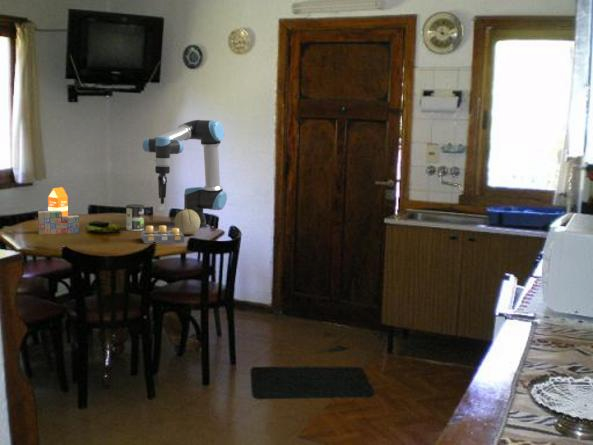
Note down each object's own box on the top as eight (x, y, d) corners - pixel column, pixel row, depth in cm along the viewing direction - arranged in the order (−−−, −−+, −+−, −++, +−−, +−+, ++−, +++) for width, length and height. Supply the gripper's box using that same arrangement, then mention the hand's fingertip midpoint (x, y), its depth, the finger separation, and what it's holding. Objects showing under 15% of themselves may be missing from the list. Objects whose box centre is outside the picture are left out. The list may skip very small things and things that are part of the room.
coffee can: (146, 228, 420) (147, 204, 417) (139, 231, 410) (139, 207, 408) (130, 227, 422) (130, 203, 419) (123, 230, 412) (123, 206, 410)
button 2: (178, 236, 391) (178, 227, 390) (179, 238, 387) (179, 229, 386) (171, 237, 390) (171, 228, 389) (172, 238, 386) (172, 229, 385)
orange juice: (48, 220, 433) (47, 188, 429) (58, 218, 441) (57, 186, 438) (58, 221, 430) (57, 189, 427) (68, 219, 438) (67, 187, 435)
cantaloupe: (188, 238, 396) (189, 211, 394) (168, 234, 404) (169, 208, 401) (205, 234, 409) (206, 208, 406) (186, 231, 416) (186, 205, 414)
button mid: (165, 234, 388) (165, 225, 388) (166, 235, 385) (166, 226, 384) (158, 234, 387) (158, 225, 386) (159, 235, 383) (159, 226, 382)
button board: (179, 237, 396) (179, 230, 396) (184, 242, 383) (184, 234, 382) (141, 238, 389) (141, 230, 389) (144, 243, 376) (144, 235, 376)
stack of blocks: (78, 231, 403) (78, 210, 401) (79, 233, 397) (79, 211, 395) (38, 232, 395) (37, 210, 393) (38, 234, 390) (38, 212, 388)
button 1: (152, 234, 386) (152, 225, 385) (153, 235, 382) (153, 226, 381) (145, 234, 385) (145, 225, 384) (146, 236, 381) (146, 226, 380)
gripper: (153, 164, 384) (152, 208, 388) (157, 166, 372) (156, 211, 376) (167, 164, 387) (166, 207, 390) (171, 167, 375) (171, 211, 378)
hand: (161, 209), depth 383 cm, fingers closed
